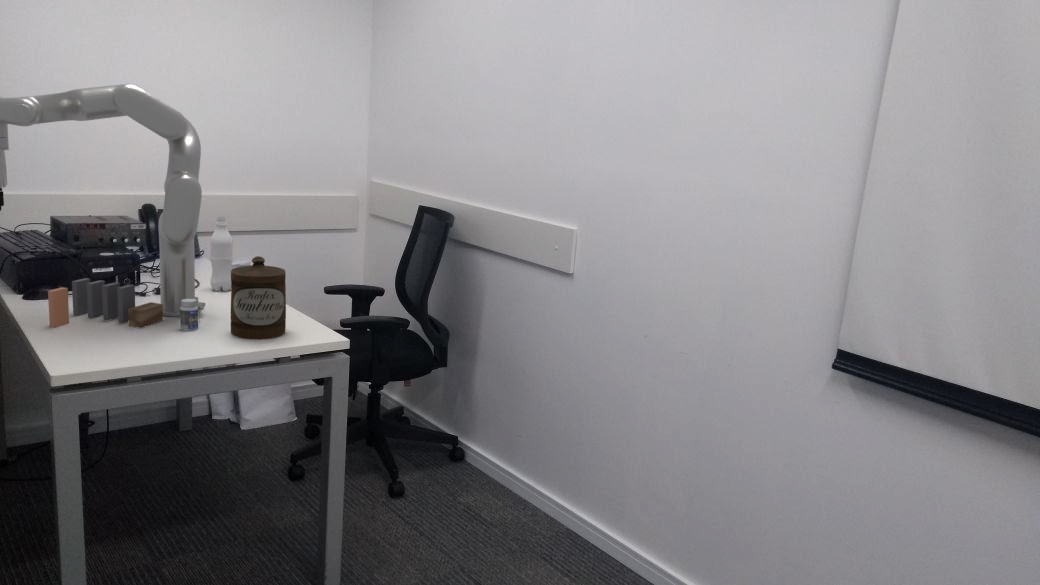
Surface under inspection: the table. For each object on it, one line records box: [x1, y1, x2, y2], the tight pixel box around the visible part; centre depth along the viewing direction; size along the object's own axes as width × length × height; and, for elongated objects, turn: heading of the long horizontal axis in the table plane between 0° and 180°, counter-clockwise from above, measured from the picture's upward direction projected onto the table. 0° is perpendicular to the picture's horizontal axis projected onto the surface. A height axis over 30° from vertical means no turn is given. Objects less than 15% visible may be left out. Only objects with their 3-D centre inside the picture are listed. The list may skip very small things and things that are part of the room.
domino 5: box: [117, 284, 136, 324], centre depth 220 cm, size 2×5×10 cm, turn 167°
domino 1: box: [47, 287, 70, 328], centre depth 211 cm, size 2×5×10 cm, turn 167°
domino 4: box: [102, 282, 121, 322], centre depth 221 cm, size 2×5×10 cm, turn 167°
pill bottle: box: [179, 299, 199, 332], centre depth 217 cm, size 5×5×8 cm
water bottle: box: [209, 216, 234, 292], centre depth 263 cm, size 7×7×25 cm
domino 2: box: [71, 277, 91, 317], centre depth 224 cm, size 2×5×10 cm, turn 167°
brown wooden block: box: [128, 302, 164, 329], centre depth 220 cm, size 4×9×5 cm, turn 167°
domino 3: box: [87, 279, 106, 319], centre depth 223 cm, size 2×5×10 cm, turn 167°
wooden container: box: [230, 255, 287, 341], centre depth 218 cm, size 15×15×22 cm
